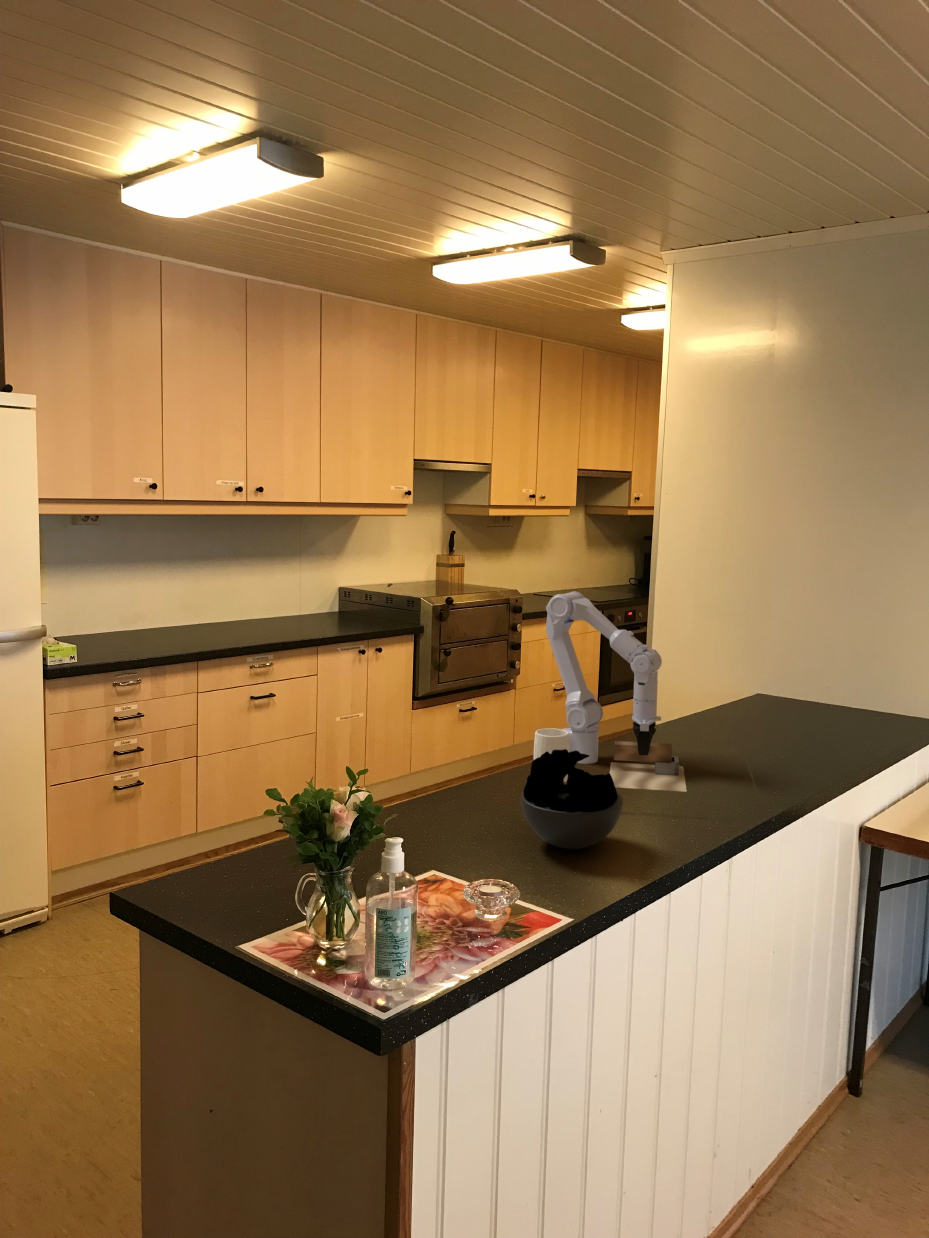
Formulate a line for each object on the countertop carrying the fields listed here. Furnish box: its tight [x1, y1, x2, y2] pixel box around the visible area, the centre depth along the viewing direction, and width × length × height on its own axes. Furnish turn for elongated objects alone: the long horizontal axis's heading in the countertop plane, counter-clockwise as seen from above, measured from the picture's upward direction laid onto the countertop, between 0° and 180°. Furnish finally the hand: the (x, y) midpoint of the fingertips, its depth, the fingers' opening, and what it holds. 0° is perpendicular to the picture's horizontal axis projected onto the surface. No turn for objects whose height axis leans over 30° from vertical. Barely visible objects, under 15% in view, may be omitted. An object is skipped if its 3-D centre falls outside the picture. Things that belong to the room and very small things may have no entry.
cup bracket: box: [654, 755, 680, 776], centre depth 243 cm, size 6×7×3 cm
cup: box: [533, 727, 570, 782], centre depth 228 cm, size 8×8×14 cm
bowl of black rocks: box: [520, 749, 624, 850], centre depth 193 cm, size 20×20×19 cm
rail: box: [613, 740, 673, 763], centre depth 244 cm, size 14×3×4 cm, turn 80°
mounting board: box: [609, 761, 687, 793], centre depth 239 cm, size 18×21×1 cm
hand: (643, 752), depth 244 cm, fingers closed on rail, 3 cm apart
